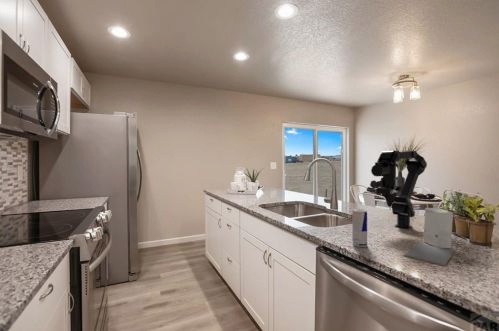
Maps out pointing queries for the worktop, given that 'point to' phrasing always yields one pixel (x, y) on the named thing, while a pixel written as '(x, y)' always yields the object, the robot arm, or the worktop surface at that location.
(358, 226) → the beverage can
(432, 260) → the mat
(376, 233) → the worktop surface
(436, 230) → the skincare box
